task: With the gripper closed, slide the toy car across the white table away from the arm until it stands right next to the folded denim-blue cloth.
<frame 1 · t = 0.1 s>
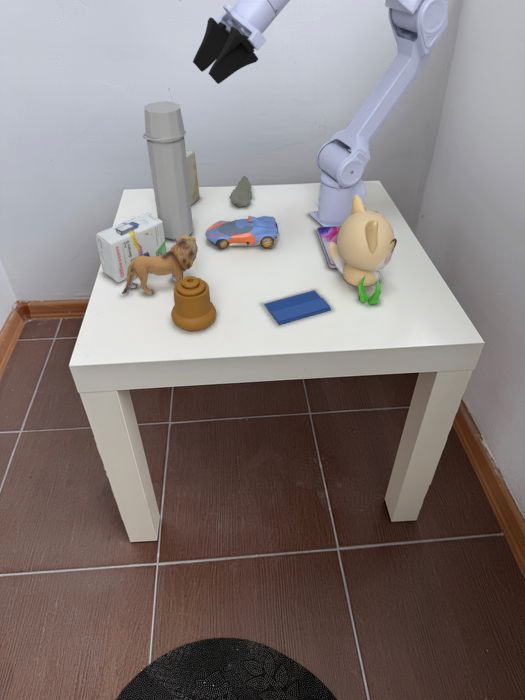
hand: (205, 72, 82), 32 cm above the table, tool tilted 50°, fingers open, 7 cm apart
ink box: (159, 236, 98), point 4 cm above the table
box: (185, 200, 119), on the table
cloth: (297, 307, 89), on the table
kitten: (360, 283, 95), on the table
stone: (232, 188, 119), point 2 cm above the table
ornamental finial: (194, 320, 86), on the table
toy car: (242, 240, 105), on the table
smartphone: (339, 248, 103), on the table, touching arm
lion figurine: (164, 285, 93), on the table
water bottle: (175, 231, 108), on the table
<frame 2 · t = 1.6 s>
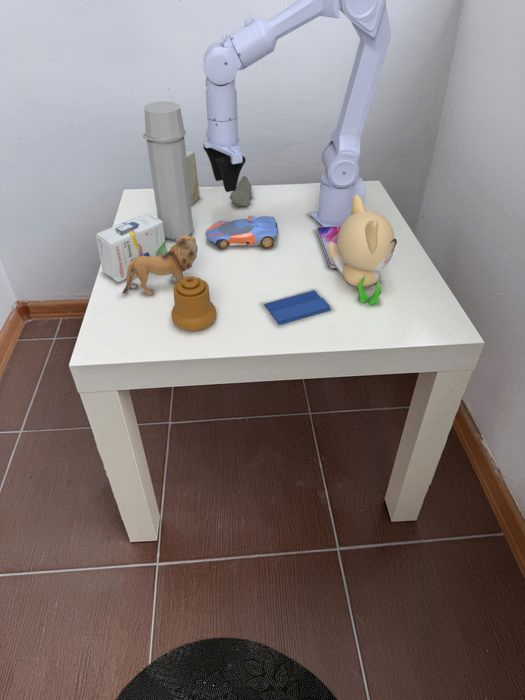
hand: (225, 185, 105), 8 cm above the table, tool pointing down, fingers open, 5 cm apart
nothing on the table moved.
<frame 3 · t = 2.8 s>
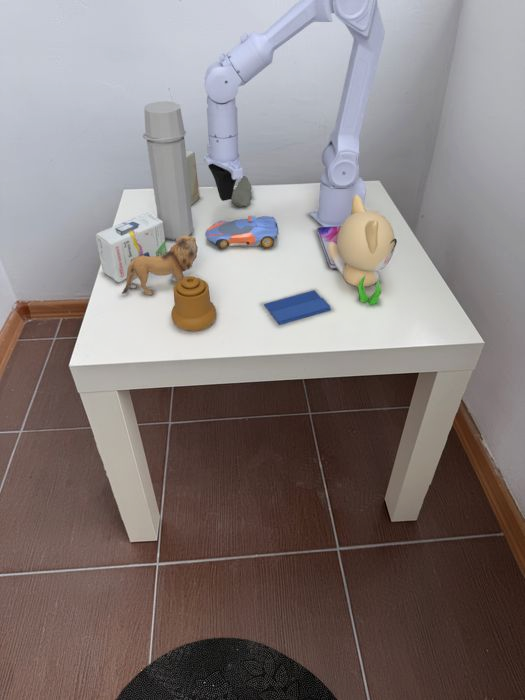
hand: (225, 198, 107), 5 cm above the table, tool pointing down, fingers closed
nothing on the table moved.
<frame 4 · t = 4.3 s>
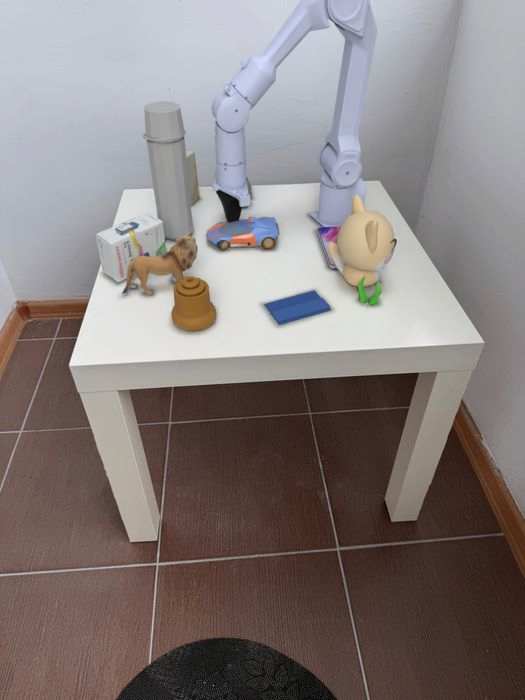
hand: (233, 223, 108), 1 cm above the table, tool pointing down, fingers closed
toy car: (242, 241, 105), on the table, touching gripper
everything else where it was.
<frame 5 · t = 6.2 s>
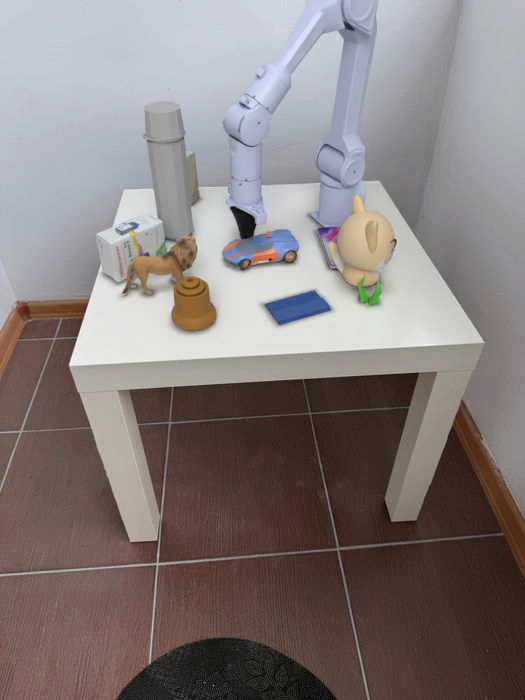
hand: (246, 240, 102), 1 cm above the table, tool pointing down, fingers closed
toy car: (259, 257, 101), on the table, touching gripper
everything else where it was.
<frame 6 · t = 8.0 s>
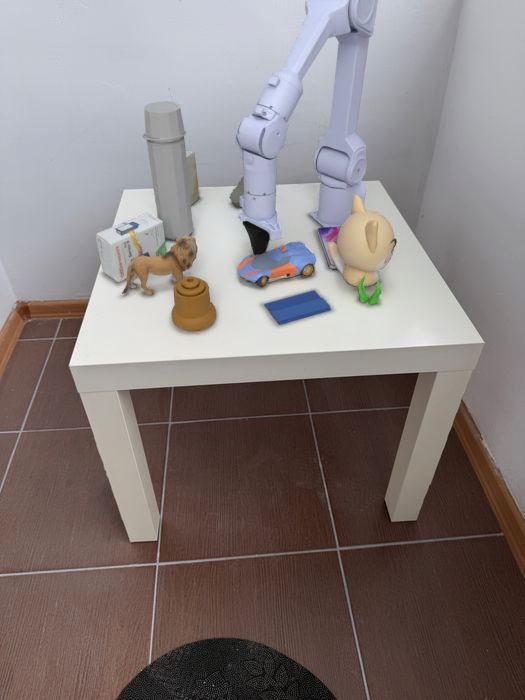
hand: (259, 255, 98), 1 cm above the table, tool pointing down, fingers closed
toy car: (275, 273, 97), on the table, touching gripper
everything else where it was.
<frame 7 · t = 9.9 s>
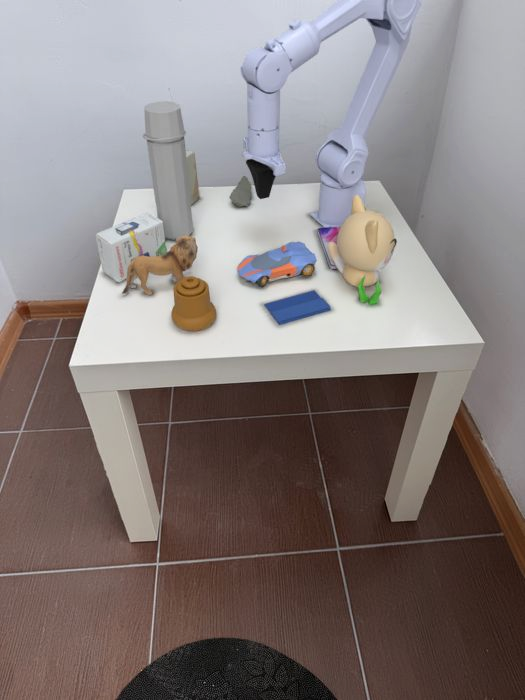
hand: (263, 196, 100), 9 cm above the table, tool pointing down, fingers closed
toy car: (275, 273, 97), on the table
everything else where it was.
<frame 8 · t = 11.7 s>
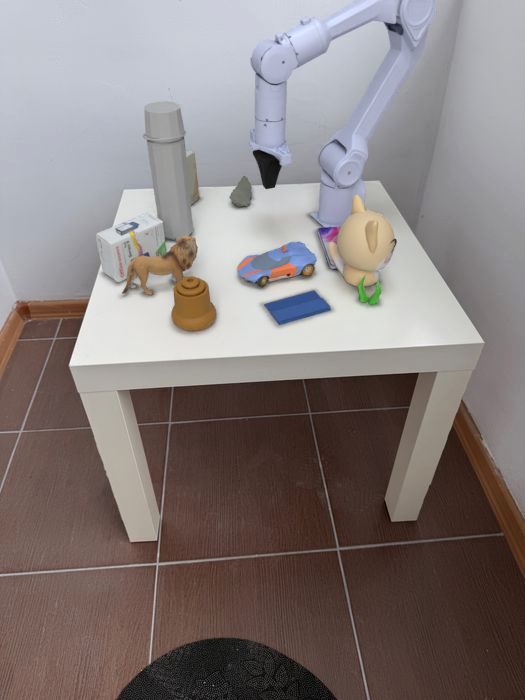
hand: (269, 187, 102), 9 cm above the table, tool pointing down, fingers closed
nothing on the table moved.
at the end: toy car 11.5 cm from the cloth (horizontally); toy car inside the target area (1.3 cm from its centre), on the table; toy car moved 13.6 cm from its start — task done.
